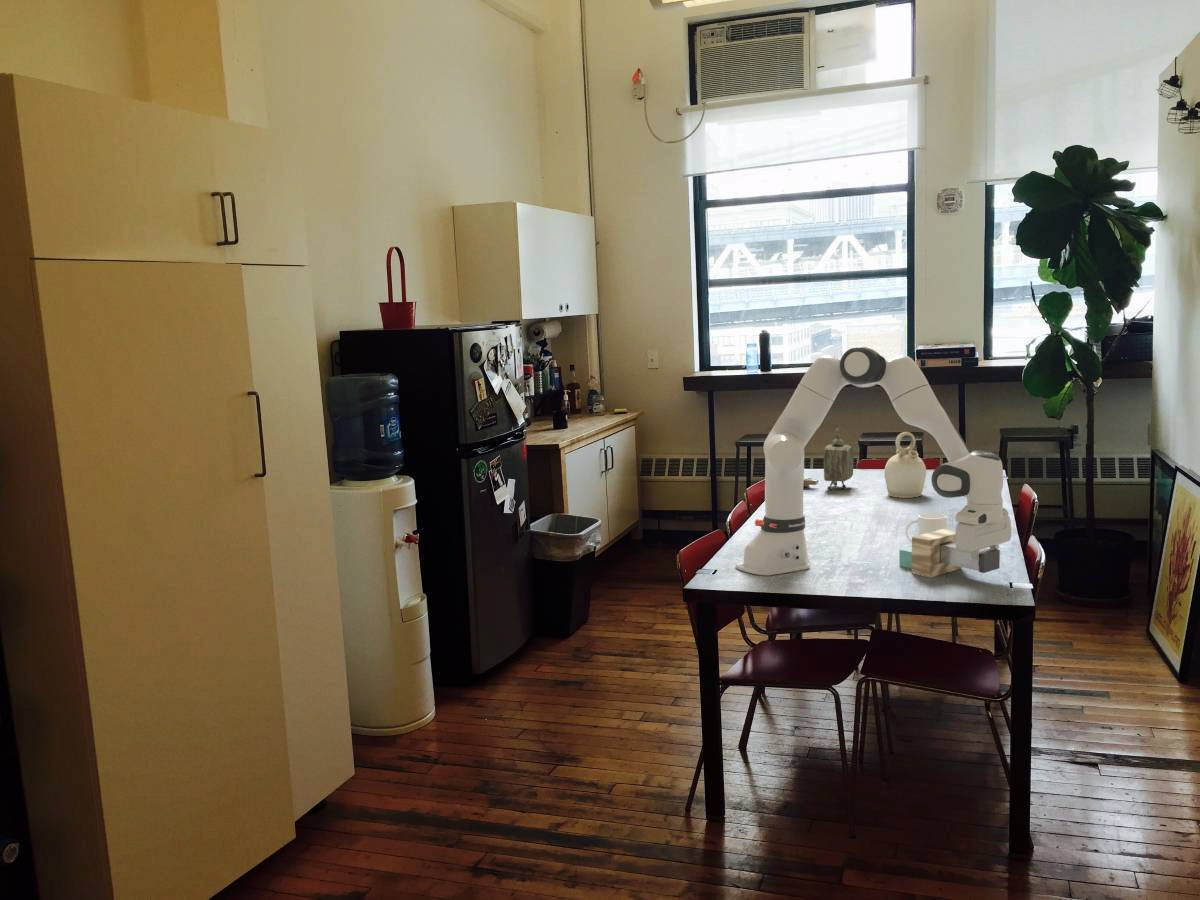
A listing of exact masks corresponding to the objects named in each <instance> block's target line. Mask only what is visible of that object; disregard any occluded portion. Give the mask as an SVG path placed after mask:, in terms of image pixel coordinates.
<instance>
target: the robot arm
mask: <svg viewBox="0 0 1200 900" xmlns="http://www.w3.org/2000/svg"><path fill="white" fill-rule="evenodd" d="M847 385H848V386H853V387H857V388H863V389H871V388H874V387H876V386H878V385H879V386H881V387H882V388H883V389H884V391H885V392H886V393H887V396H888V397H889V400H890V402H891V404H892V406H893V408H894V410H895V412H896V413H897V415H898V416H899V417H900V419H901V420H902V421H903V422H904V423H905V424H907V425H910V426H912V427H915V428H919V429H921V430H923V431H926V432H927V433H928V434H930V435H931V437H933V438H934V440H935V442H937V444H938V446H939V447H940V449H941V451H942V452H943V454H944V456H945V458H946V459H947V462H944V463H943V464H940V465H939V466H937V467H936V468H935V469H933V472H932V474H931V485H932V488H933V490H934V491H935V492H936V493H937V495H939V496H941V497H942V498H949V499H953V498H961V497H964V498H966V505H965V506H964V507H963V508H962V509H961V510H959V511H958V512H957V513H956V514H955V517H954V518H955V522H956V523H957V524H956V527H955V531H956V535H955V542H956V548H957V550H958V551H961V552H966V553H970V555H971V558H972V564H973V565H975V566H978V565H979V555H978V554H979V550H980V549H984V548H986V549H988V548H989V549H991V550H993V549H997V550H999V547H1000V546H999V545H1000V544H1004V543H1005V544H1006V543H1008V542H1010V541H1011V538H1012V535H1013V534H1012V524H1011V523H1012V522H1011V518H1010V516H1009V511H1008V510H1007V509H1006V508H1005V507H1004V505H1003V504H1004V500H1003V496H1002V491H1003V488H1004V471H1003V470H1004V469H1003V462H1002V460H1001V457H1000V456H998V455H997V454H996V453H994V452H991V451H986V450H974V451H971V450H970V448H969V447H968V446H967V445H968V444H966V442H965V439H964V438H963V437H962V435H961V434H960V432H959V430H958V428H957V427H956V425H955V424H954V422H953V421H952V419H951V418H950V416H949V415H948V414H947V412H946V410H945V409H944V408H943V407H942V405H941V404H940V402H939V400H938V398H937V397H936V395H935V392H934V391H933V389H932V388H931V385H930V384H929V381H928V379H927V378H926V376H925V375H924V373H923V371H922V370H921V369H920V367H919V366H918V364H917V362H915V361H914V359H913V358H911V357H910V356H908V355H897V356H894V357H891V358H889V359H886V358H885V357H884V356H882V355H881V354H880V353H879V352H878V351H876V350H874V349H872V348H870V347H867V346H864V345H863V346H862V345H858V346H852V347H851V348H849V349H847V350H846V351H845V352H844V353H843V354H842V357H841V358H837V357H835V356H832V355H825V354H824V355H822V356H819V357H817V358H816V359H815V360H814V361H813V362H812V364H811V365H810V366H809V368H808V369H807V370H806V372H805V373H804V375H803V377H802V378H801V380H800V381H799V383H798V385H797V387H796V389H795V390H794V392H793V394H792V396H791V398H789V401H788V403H787V405H786V406H785V408H784V410H783V411H782V412H781V414H780V415H779V417H778V418H777V420H776V422H775V423H774V424H773V426H772V429H771V430H770V431H769V433H768V435H767V437H766V438H765V440H764V442H763V453H764V463H765V464H764V466H765V467H764V470H765V471H764V475H765V476H764V507H765V508H764V510H765V511H764V513H765V514H764V516H763V519H758V518H756V519H755V520H754V525H755V527H759V528H760V531H758V532H757V534H756V535H755V536H754V537H753V539H752V540H751V541H749V542H748V543H747V544H746V546H745V548H744V551H743V560H741V561H739V562H736V563H735V569H737V570H739V571H741V572H746V573H749V574H753V575H760V576H773V575H780V574H785V573H792V572H797V571H804V570H809V569H810V568H811V562H810V559H809V555H808V549H807V541H806V537H805V528H806V517H805V515H804V480H805V447H806V446H807V444H808V443H809V441H810V440H811V439H812V437H813V436H814V434H815V433H816V431H817V430H818V429H819V428H820V426H821V424H822V423H823V421H824V419H825V418H826V416H827V414H828V412H829V411H830V409H831V407H832V405H833V404H834V402H835V400H836V398H837V396H838V395H839V393H840V392H841V390H842V389H843V388H844V387H846V386H847Z"/></svg>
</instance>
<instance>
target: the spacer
mask: <svg viewBox="0 0 1200 900" xmlns="http://www.w3.org/2000/svg"><path fill="white" fill-rule="evenodd" d="M898 552H899V562H898V564H899V567H901V566H903V567H902V568H906V567H907V568H906V569H910V568H912V545H910V546H908V547H904V548H901V549H899V551H898Z"/></svg>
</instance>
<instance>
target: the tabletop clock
mask: <svg viewBox="0 0 1200 900" xmlns="http://www.w3.org/2000/svg"><path fill="white" fill-rule="evenodd" d="M840 437H841V428H840V427H837V428H836V429H835V439H833V440H832V441H831V444H827V445H826V446H825V447H824V450H823V479H824V481H825V482H830V485H829V486H827V487H826V488H827V490H828V491H831V490H832V486H834V485H836V486H837V485H838V482H841V484H842V485H841V488H842V489H843V488H845V489H846V488H847V486H846V485H845V483H844V482H846V481H848V480H850V479H851V478H852V477H853V475H854V447H852V446H850V445H849V444H845V441H844V440H843V439H841V438H840Z"/></svg>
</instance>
